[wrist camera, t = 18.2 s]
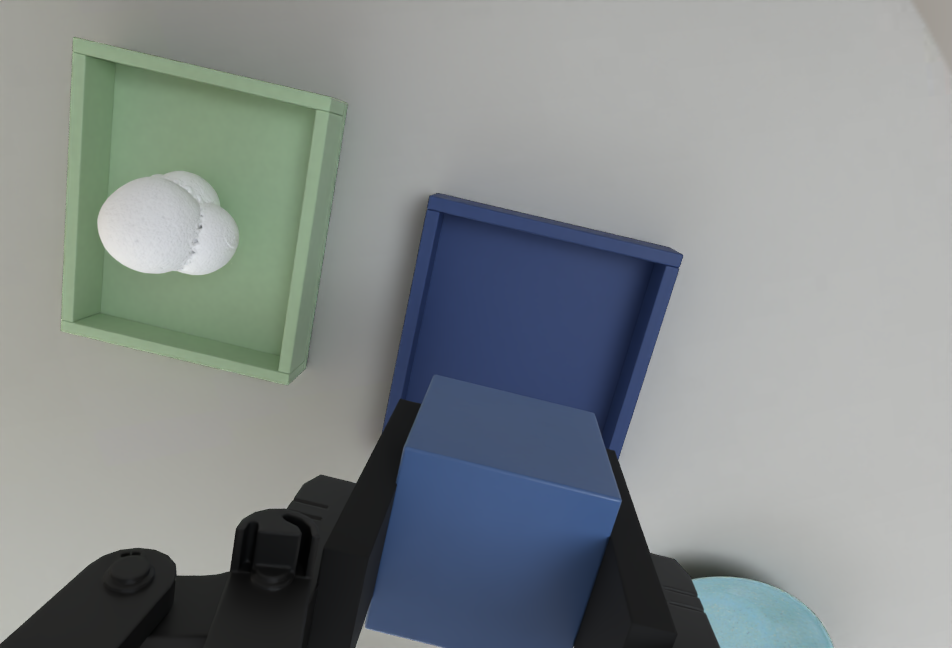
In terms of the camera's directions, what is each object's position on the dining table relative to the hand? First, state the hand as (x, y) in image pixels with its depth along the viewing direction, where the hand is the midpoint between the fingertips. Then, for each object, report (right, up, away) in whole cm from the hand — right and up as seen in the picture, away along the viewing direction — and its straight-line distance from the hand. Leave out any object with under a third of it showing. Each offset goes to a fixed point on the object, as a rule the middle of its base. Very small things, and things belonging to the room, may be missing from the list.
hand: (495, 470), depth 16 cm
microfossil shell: (-13, +9, +13) cm, 21 cm away
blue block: (0, 0, 0) cm, 0 cm away
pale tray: (-13, +9, +13) cm, 21 cm away
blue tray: (+2, +3, +14) cm, 14 cm away
